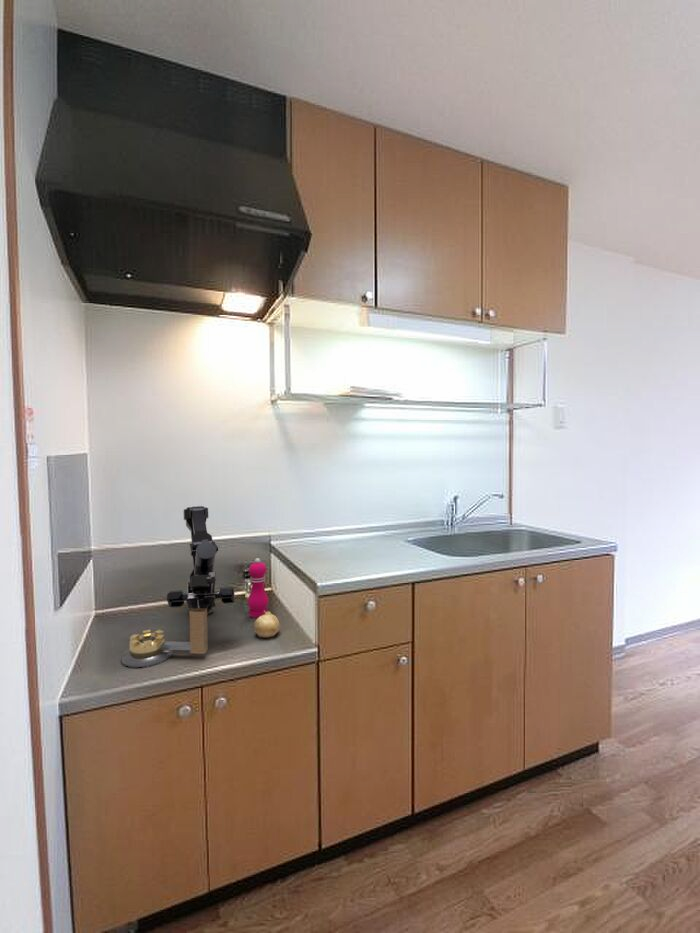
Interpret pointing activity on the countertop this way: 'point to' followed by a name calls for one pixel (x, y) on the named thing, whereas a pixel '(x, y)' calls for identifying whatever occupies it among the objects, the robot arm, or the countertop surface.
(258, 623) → the onion
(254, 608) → the pepper mill
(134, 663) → the flange
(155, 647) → the crank handle
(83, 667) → the countertop surface
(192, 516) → the robot arm
